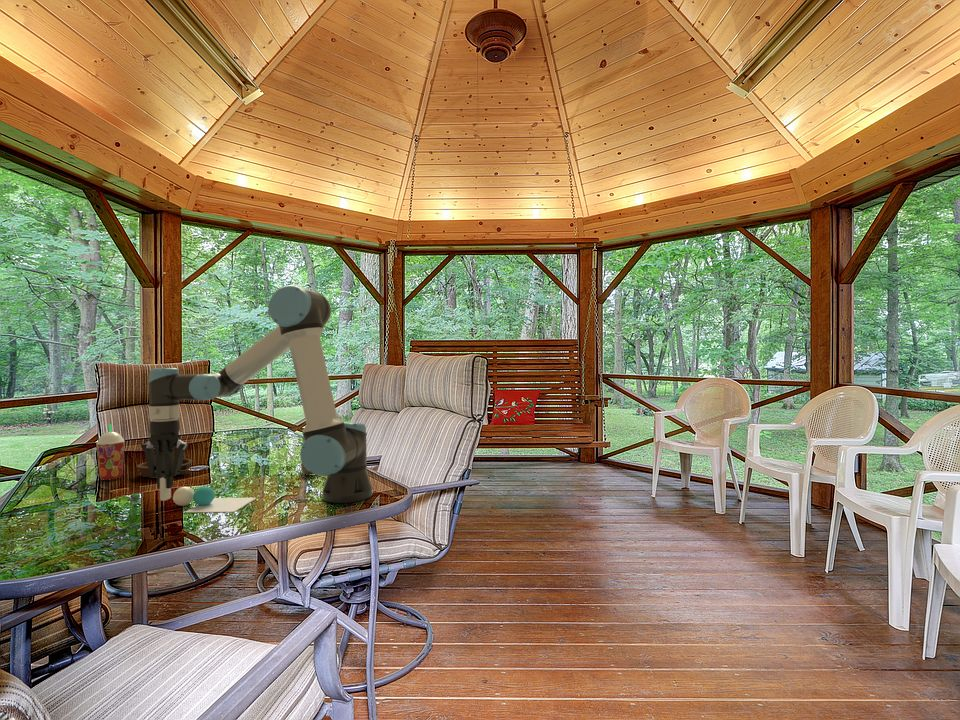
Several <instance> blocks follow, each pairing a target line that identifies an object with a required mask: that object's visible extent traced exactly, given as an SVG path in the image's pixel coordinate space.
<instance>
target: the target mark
mask: <svg viewBox="0 0 960 720" xmlns="http://www.w3.org/2000/svg"><path fill="white" fill-rule="evenodd" d="M256 499H258V497H214V499H213V501H212V502H211V503H210V504H208V505H204V506H201V505H198V504H196V505H195V506H194V507H191V508H190V509H188V510H186V511H184V513H187V514H188V513H191V514H192V513H197V514H198V513H201V514H202V513H235V512H237V511H239V510H240V509H242V508H243V507H245V506H247V505H249V504H250V503H251V502H253V501H255V500H256Z"/></svg>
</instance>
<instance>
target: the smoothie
mask: <svg viewBox="0 0 960 720" xmlns="http://www.w3.org/2000/svg"><path fill="white" fill-rule="evenodd" d="M108 426H109V427H108V428H109V429H108V432H107V431H106V432H105V433H103V434H101V435H100V437H99V438H98V440H97V441H96V453H97V463H98V464H97V465H98V466H97V467H98V477H99V478H100V479H104V480H108V479H115V478H118V477H121V478H122V475H123V473H124V472H123V470H124V455H125V439H124V438H123V436H122V435H121V434H120V433H119V432H116V431H112V430H113V429H112V428H113V426H112V424H109V425H108Z"/></svg>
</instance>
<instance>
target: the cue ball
mask: <svg viewBox="0 0 960 720" xmlns="http://www.w3.org/2000/svg"><path fill="white" fill-rule="evenodd" d="M194 493H195V490H194V489H193V488H192V487H189V486H180V487H179V488H177V489H176V490H175V491H174V493H173V496H172V500H173V502H174V503H175V504H176V506H177V505H178V506H182V507H184V506H189V505H190V504H191V503H192V502H193V501H194V498H193V496H194Z"/></svg>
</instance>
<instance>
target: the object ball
mask: <svg viewBox="0 0 960 720" xmlns="http://www.w3.org/2000/svg"><path fill="white" fill-rule="evenodd" d="M193 498H194V499H193V501H194V503H195V504H196V505H201V506H204V505H208V504H210V503H211V502H212V501H213V499H214V498H215V491H214V489H213V488H212V487H210V486H206V485H205V486H201V487H199V488H197V489H196V490H194V496H193Z"/></svg>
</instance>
